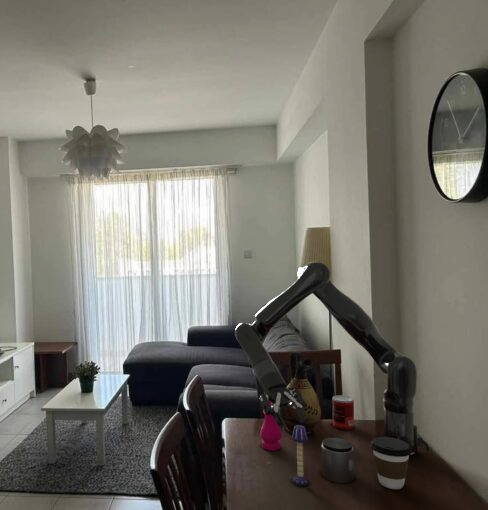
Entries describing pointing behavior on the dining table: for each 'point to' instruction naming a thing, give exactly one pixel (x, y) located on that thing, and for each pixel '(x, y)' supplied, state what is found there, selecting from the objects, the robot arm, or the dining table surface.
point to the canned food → (343, 412)
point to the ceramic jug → (306, 393)
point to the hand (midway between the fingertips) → (293, 423)
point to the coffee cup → (391, 461)
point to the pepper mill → (270, 433)
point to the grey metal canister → (337, 460)
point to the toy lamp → (300, 453)
